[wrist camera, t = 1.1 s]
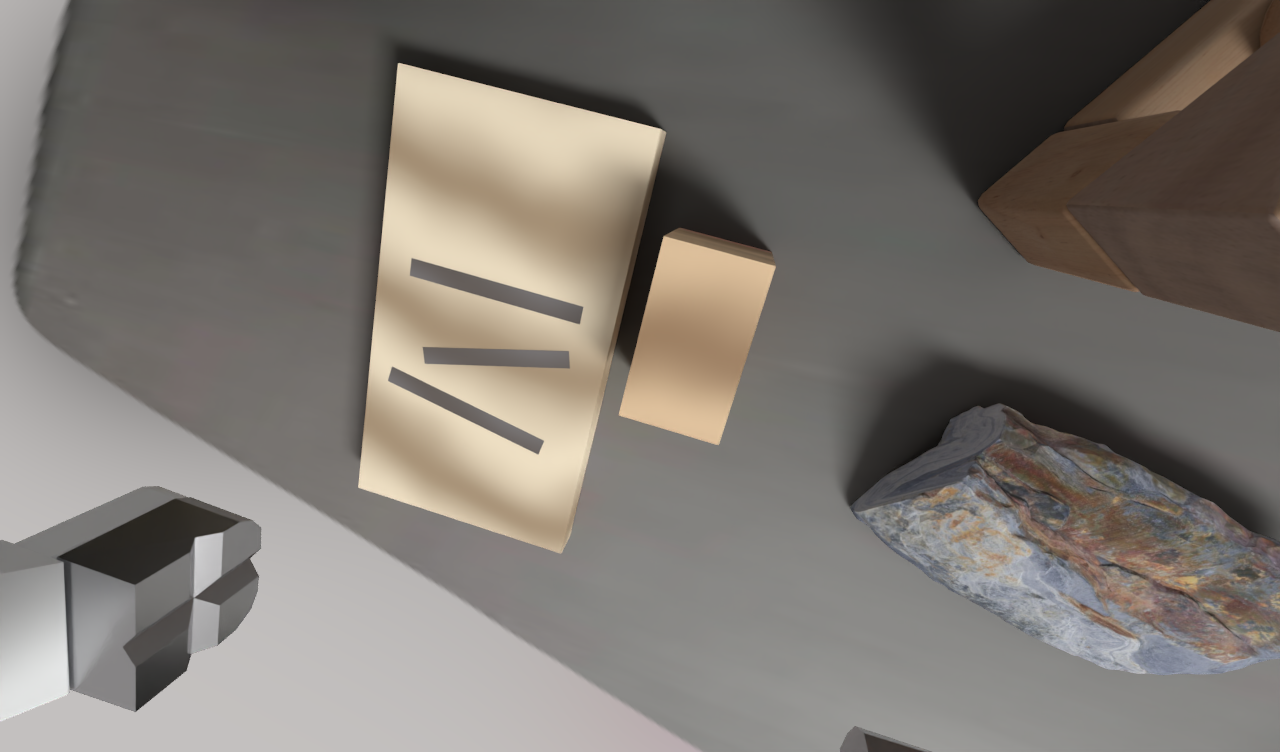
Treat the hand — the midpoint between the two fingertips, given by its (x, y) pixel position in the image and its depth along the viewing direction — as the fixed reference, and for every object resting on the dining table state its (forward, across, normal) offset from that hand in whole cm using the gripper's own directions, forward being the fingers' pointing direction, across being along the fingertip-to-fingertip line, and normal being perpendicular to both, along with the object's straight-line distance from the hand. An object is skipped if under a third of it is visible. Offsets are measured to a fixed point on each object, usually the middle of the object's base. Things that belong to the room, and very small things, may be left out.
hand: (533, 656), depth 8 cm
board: (+20, +8, +2) cm, 22 cm away
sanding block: (+20, 0, -1) cm, 20 cm away
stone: (+21, -18, +4) cm, 28 cm away
